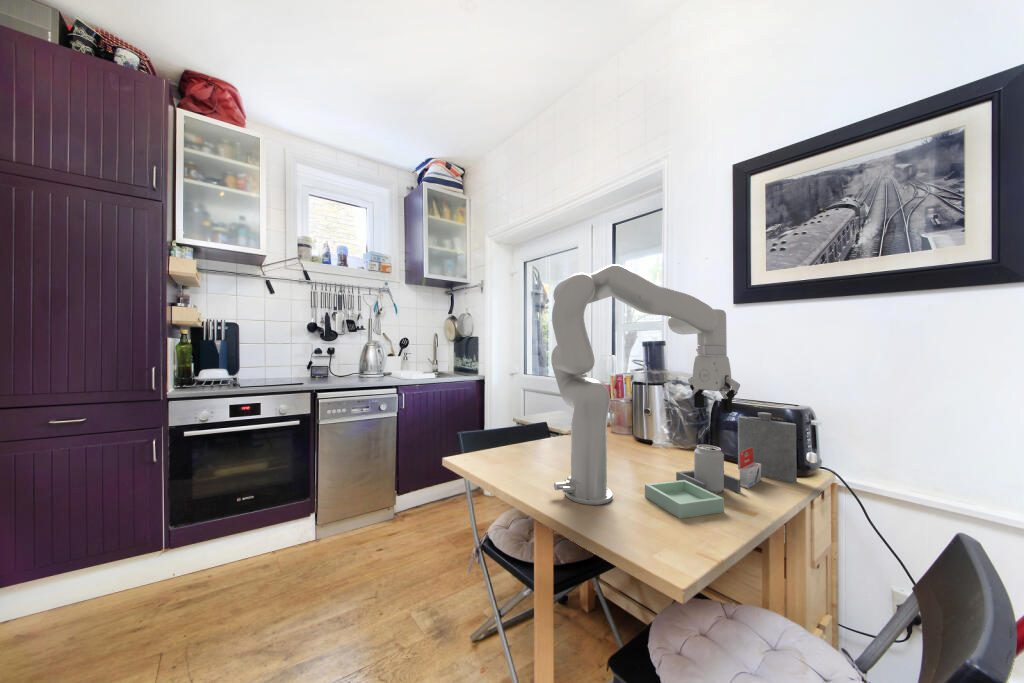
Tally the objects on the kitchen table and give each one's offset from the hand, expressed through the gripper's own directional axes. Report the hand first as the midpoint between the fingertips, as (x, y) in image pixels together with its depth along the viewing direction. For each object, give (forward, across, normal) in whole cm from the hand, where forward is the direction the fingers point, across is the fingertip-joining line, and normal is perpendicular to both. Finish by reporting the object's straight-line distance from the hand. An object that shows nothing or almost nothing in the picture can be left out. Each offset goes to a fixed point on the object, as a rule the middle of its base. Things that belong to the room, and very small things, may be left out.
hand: (712, 409), depth 105 cm
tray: (+22, +7, -18) cm, 29 cm away
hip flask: (+23, -3, +24) cm, 34 cm away
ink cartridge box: (+23, +1, +14) cm, 26 cm away
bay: (+22, +1, -2) cm, 22 cm away
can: (+22, +1, -2) cm, 23 cm away
